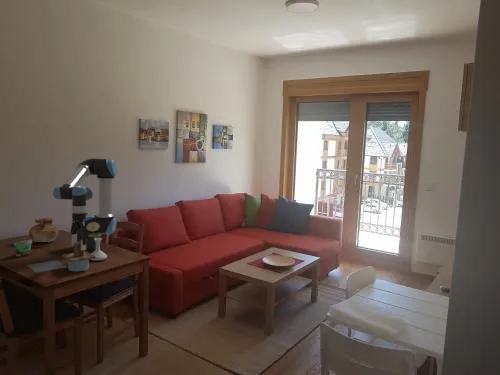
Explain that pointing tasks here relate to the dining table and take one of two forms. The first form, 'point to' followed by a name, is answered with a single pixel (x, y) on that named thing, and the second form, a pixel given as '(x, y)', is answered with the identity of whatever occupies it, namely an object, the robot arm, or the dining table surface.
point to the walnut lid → (78, 254)
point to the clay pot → (43, 230)
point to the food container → (23, 248)
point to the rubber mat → (46, 266)
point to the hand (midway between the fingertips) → (78, 247)
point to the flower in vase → (97, 253)
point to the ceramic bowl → (78, 265)
